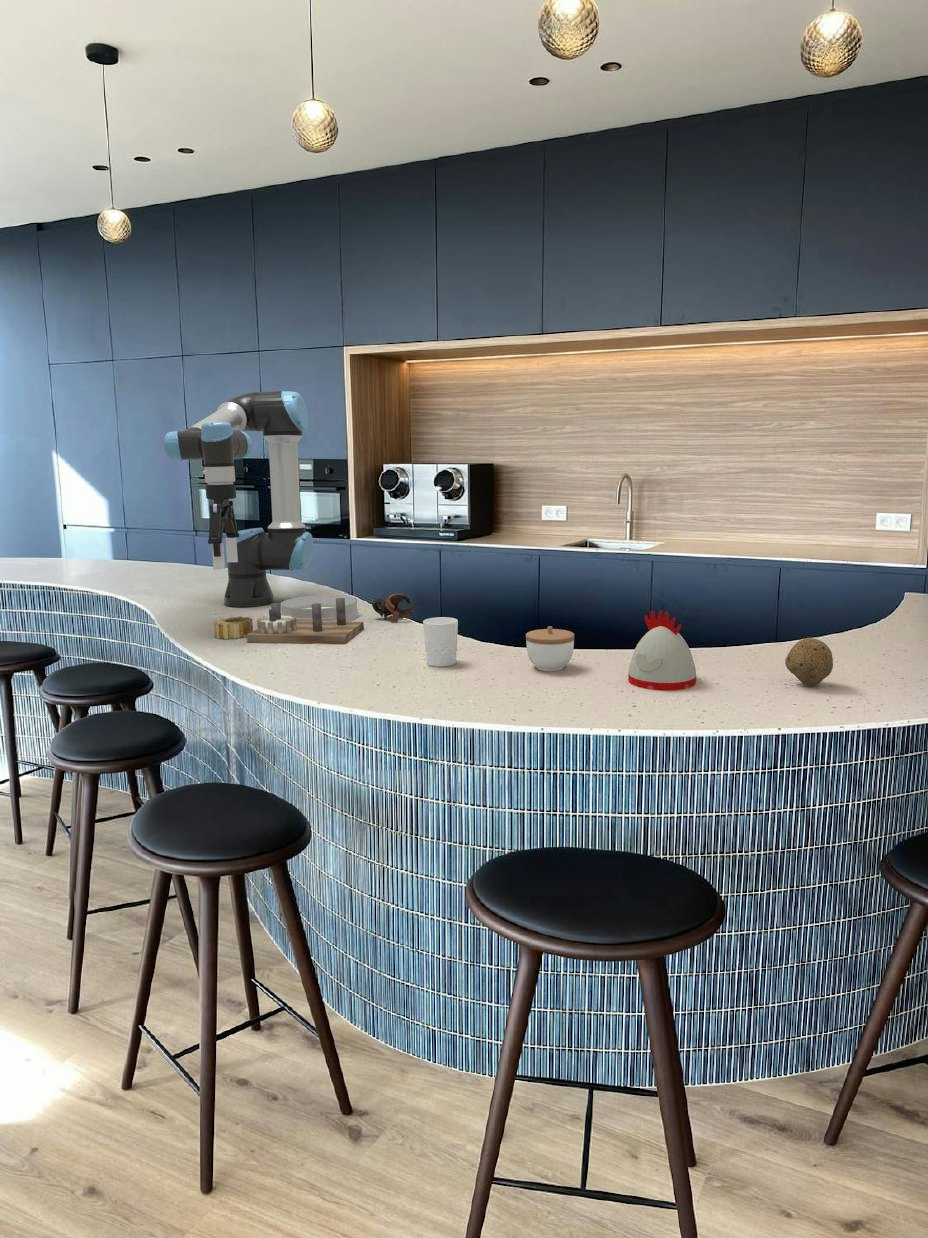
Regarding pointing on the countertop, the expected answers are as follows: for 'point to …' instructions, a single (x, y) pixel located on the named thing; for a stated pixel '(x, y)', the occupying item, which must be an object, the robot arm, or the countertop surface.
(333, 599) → the dish
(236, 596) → the robot arm
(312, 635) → the gear board
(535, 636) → the lidded jar
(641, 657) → the kitchen timer
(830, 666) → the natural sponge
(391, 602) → the brown curved piece
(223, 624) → the brass gear
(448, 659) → the white cup
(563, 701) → the countertop surface
